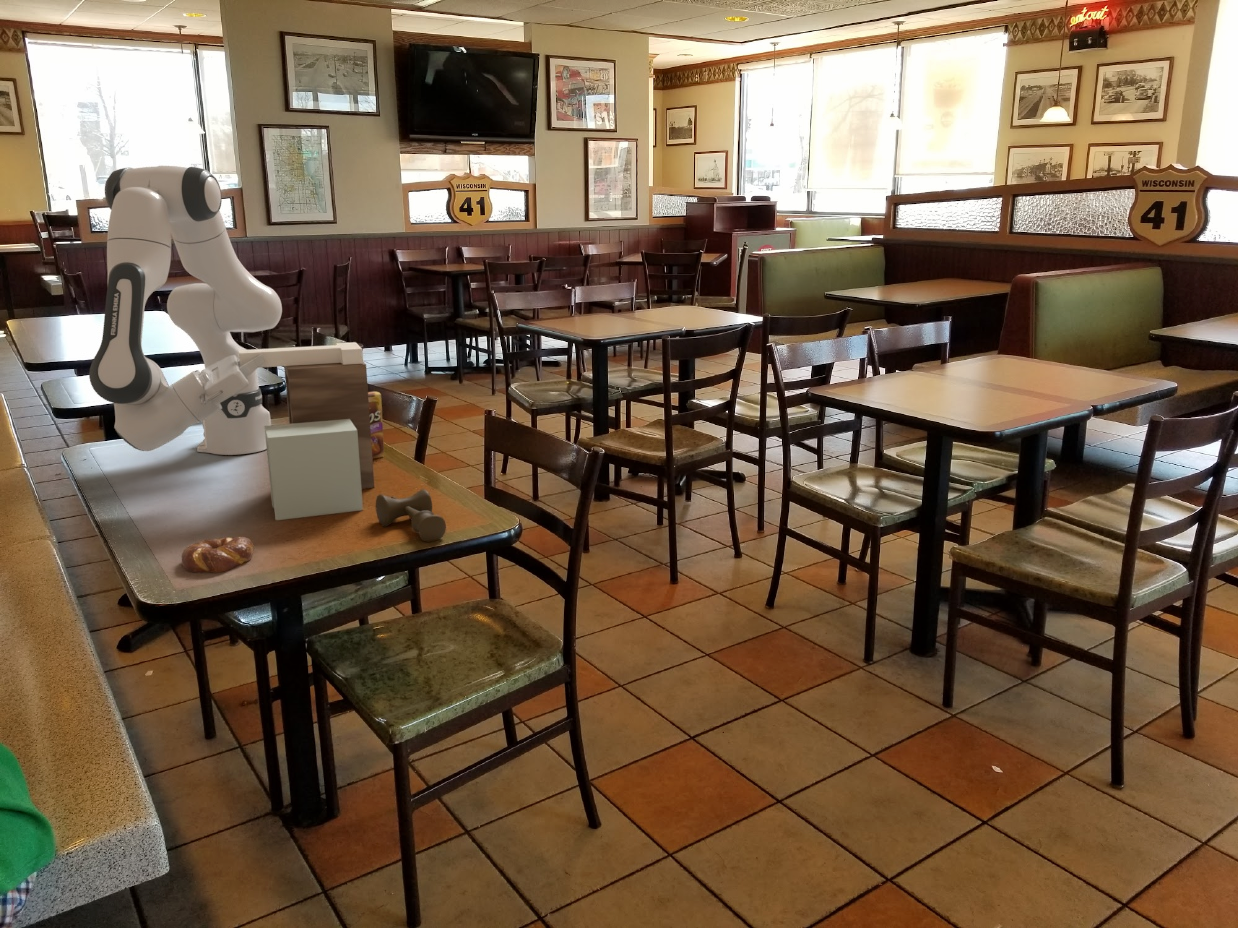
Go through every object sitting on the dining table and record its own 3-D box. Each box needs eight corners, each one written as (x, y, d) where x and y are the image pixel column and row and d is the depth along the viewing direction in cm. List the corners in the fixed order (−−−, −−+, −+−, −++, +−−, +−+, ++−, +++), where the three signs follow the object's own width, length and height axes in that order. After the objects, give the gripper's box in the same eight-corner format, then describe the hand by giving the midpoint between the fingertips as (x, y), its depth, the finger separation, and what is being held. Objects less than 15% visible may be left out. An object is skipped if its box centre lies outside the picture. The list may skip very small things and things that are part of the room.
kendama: (408, 550, 164) (368, 515, 180) (459, 541, 170) (415, 508, 185) (407, 518, 163) (367, 486, 178) (459, 509, 168) (415, 479, 184)
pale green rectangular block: (272, 504, 186) (264, 425, 181) (355, 495, 192) (349, 418, 188) (276, 520, 177) (267, 437, 173) (362, 509, 183) (357, 430, 179)
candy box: (347, 463, 215) (342, 397, 211) (341, 458, 218) (336, 394, 214) (385, 457, 220) (381, 393, 215) (379, 453, 223) (374, 390, 219)
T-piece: (239, 363, 189) (237, 348, 189) (356, 356, 198) (355, 342, 197) (241, 370, 181) (239, 355, 181) (363, 363, 190) (362, 348, 189)
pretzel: (236, 545, 166) (234, 525, 165) (269, 560, 159) (268, 539, 158) (168, 564, 157) (165, 543, 156) (201, 581, 150) (198, 559, 149)
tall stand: (294, 482, 200) (283, 361, 193) (366, 474, 206) (358, 356, 199) (299, 495, 191) (287, 369, 184) (374, 487, 197) (366, 364, 190)
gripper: (189, 391, 173) (255, 350, 176) (190, 372, 191) (249, 335, 194) (211, 419, 176) (276, 378, 179) (210, 397, 194) (268, 360, 197)
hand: (262, 355), depth 187 cm, fingers closed on T-piece, 4 cm apart
